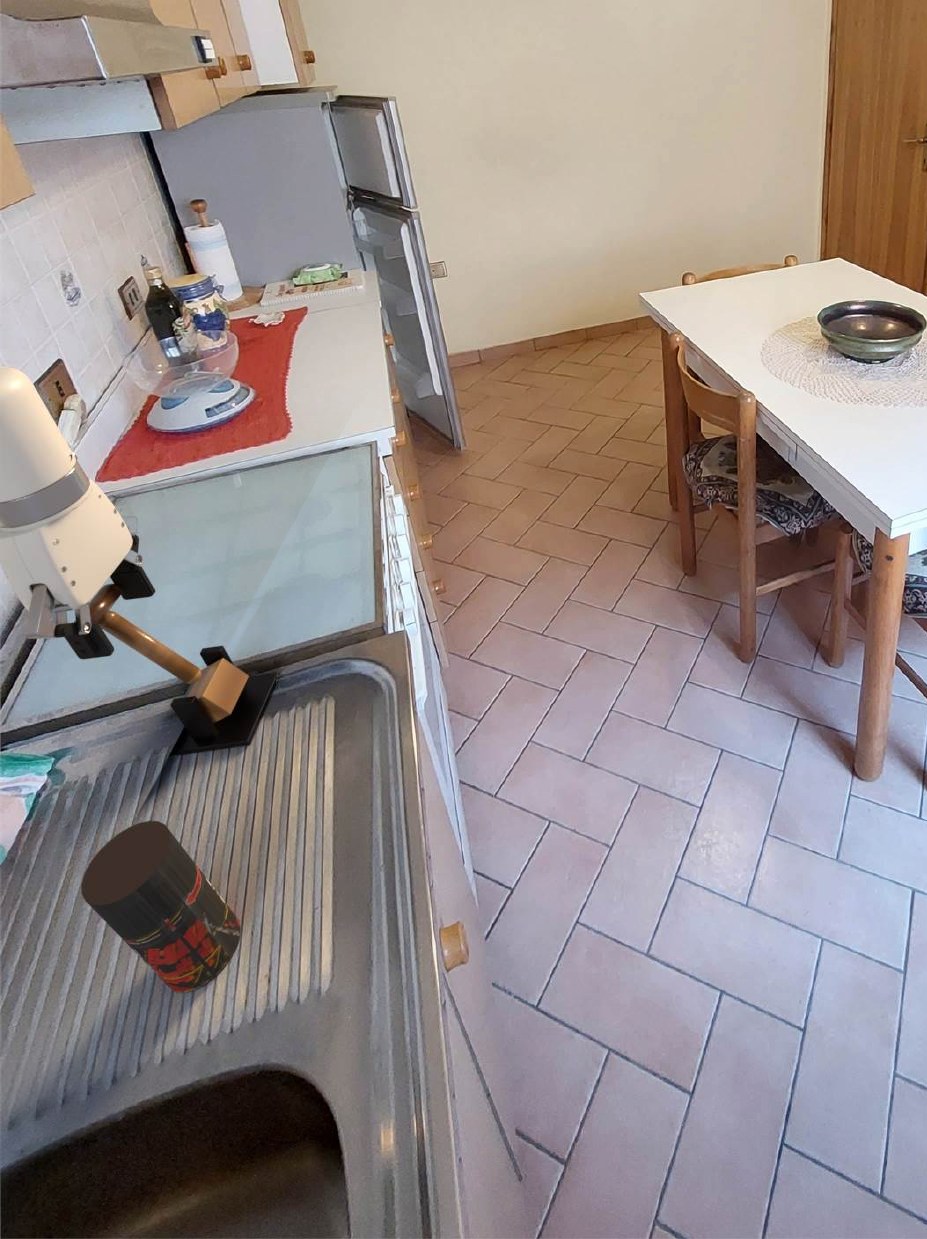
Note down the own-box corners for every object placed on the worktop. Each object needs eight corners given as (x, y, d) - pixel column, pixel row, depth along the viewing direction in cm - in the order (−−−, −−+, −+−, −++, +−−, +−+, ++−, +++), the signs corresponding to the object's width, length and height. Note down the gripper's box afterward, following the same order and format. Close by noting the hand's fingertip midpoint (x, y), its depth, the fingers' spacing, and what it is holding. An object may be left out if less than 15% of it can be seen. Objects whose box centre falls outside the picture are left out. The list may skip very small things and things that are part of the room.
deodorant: (148, 983, 60) (61, 895, 53) (202, 904, 65) (129, 814, 58) (204, 1001, 59) (123, 913, 51) (255, 919, 64) (187, 828, 56)
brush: (45, 645, 70) (76, 627, 70) (88, 591, 76) (117, 574, 76) (197, 738, 79) (226, 722, 78) (225, 683, 85) (252, 668, 84)
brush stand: (159, 758, 78) (129, 717, 75) (198, 687, 86) (172, 646, 83) (250, 745, 79) (224, 703, 75) (280, 675, 87) (258, 635, 83)
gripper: (56, 444, 73) (129, 569, 82) (-81, 565, 58) (27, 703, 67) (130, 436, 74) (195, 561, 82) (13, 554, 59) (108, 692, 67)
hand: (119, 623), depth 74 cm, fingers closed on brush, 7 cm apart
